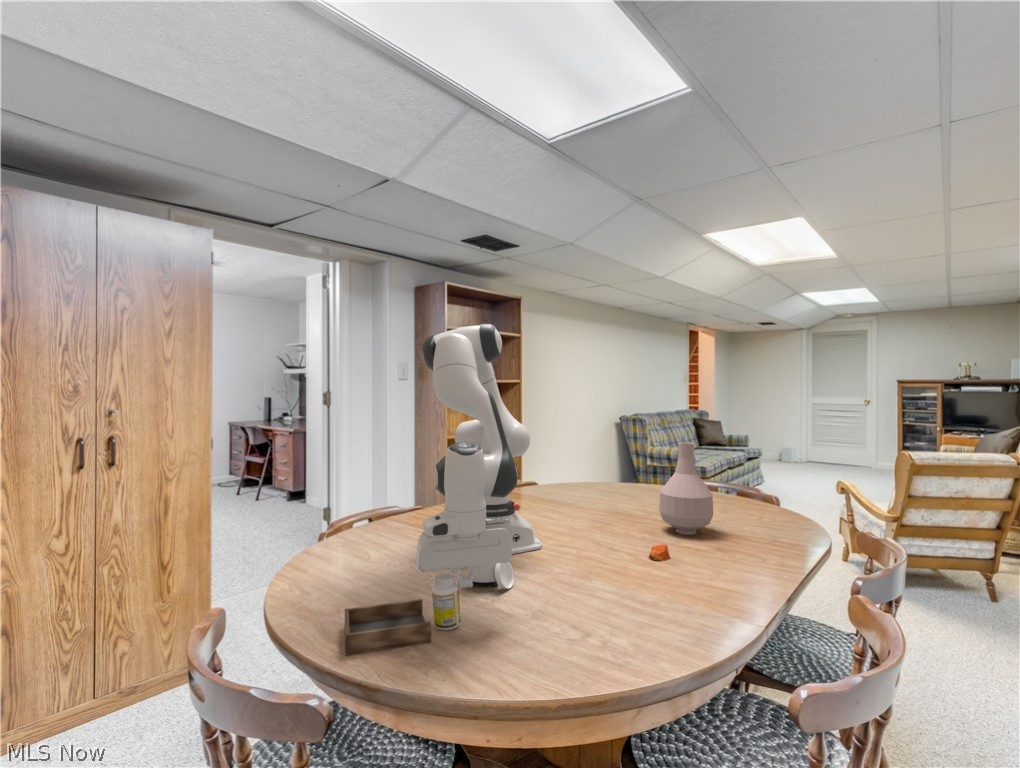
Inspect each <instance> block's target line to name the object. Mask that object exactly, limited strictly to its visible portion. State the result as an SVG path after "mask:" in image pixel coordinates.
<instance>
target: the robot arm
mask: <svg viewBox="0 0 1020 768" xmlns="http://www.w3.org/2000/svg"><path fill="white" fill-rule="evenodd" d="M502 349H503V341H502V337H501V334H500V333H499V331H498V329H497V327H496V326H494V324H491V323H481V324H480V325H479V324H478V325H470V326H468V325H467V326H461V327H457V328H455V329H450V330H447V331H444V332H441V333H434V334H431V335H429V336H427V337H426V338H425V339H424V341H423V343H422V349H421V350H422V358H423V360H424V363H425V365H426V366H427V367H428V368H429V370H431V371H432V377H433V378H432V381H433V390H434V394H435V396H436V399H437V400H438V401H439V402H440V403H441V404H442V405H444V406H445V407H447V408H448V409H450V410H453V411H455V412H458V413H462V414H464V415H467V416H470V417H472V418H473V419H471V420H467V421H462V422H461V423H460V424H458V426H457V428H456V430H455V433H454V442H455V443H453V444H450V445H449V446H448V447H447V449H446V455H445V456H443V457H442V458H441V459H440V460H439V461H438V462H437V463H436V464H435V469H436V486H435V490H437V491H438V492H439V493H440V494H441V495H442V496H444V497H445V502H444V506H443V511H442V512H438V513H437V514H434V515H431V516H429V517H427V518H425V519H423V520H422V521H421V522H422V523H421V525H422V527H421V528H422V530H423V532H421V533H420V535H419V537H418V541H417V545H416V558H415V559H416V560H415V561H416V562H415V563H416V566H417V569H419V571H421V573H425V572H426V573H427V572H434V571H435V572H436V571H443V570H444V571H445V570H451V569H452V572H453V573H454V575H455V576H456V578H457V585H458V587H459V589H466V588H467V589H468V588H473V586H474V585H473V578H474V577H475V575H476V573H477V571H478V566H479V565H488V564H497V563H506V562H511V560H512V558H513V555H514V554H519V553H521V554H522V553H527V552H531V551H535V550H540V549H542V546H543V545H542V542H541V540H540V539H539V538H537V536H535V534H534V529H533V526H532V525H531V523H530V522H529V521H528V520H527V519H525V518H524V517H522V516H521V515H520V514H518V513H517V512H518V511H520V509H521V505H520V504H519V503H518V502H514V501H513V500H511V499H510V494H511V493H512V492H513V491H514V489H516V487H517V485H518V478H519V477H518V470H517V466H516V463H515V460H514V458H515V457H516V458H517V457H522V456H523V455H525V453H526V452H527V450H528V449H529V447H530V443H531V437H530V433H529V430H528V428H527V426H525V425H524V424H522V423H521V422H519V421H518V419H516V418H515V417H514V416H513V415H512V413H511V412H510V411H509V410H508V408H507V407H506V405H505V404H504V402H503V400H502V397H501V394H500V389H499V387H498V383H497V380H496V375H495V371H494V368H493V365H492V363H493V362H494V361H497V359H498V358H499V357H500V356H501V354H502ZM516 511H517V512H516ZM463 568H469V572H468V574H467V576H461V575H460V573H462V569H463ZM470 569H471V570H470Z"/></svg>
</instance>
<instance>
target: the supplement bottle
mask: <svg viewBox="0 0 1020 768" xmlns="http://www.w3.org/2000/svg"><path fill="white" fill-rule="evenodd" d="M454 575H455V574H453V573H449V572H444V573H440V574H438V575H436V576H435V577H434V585H433V586H432V588H431V597H432V608H433V611H432V612H433V623H434V626H435V628H436V629H438V630H440V631H450V630H454V629H456V628H457V627H459V626H460V625H461V623H462V615H461V603H460V591H459V590H460V588H459V587H458V582H455V576H454Z"/></svg>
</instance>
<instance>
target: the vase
mask: <svg viewBox="0 0 1020 768" xmlns="http://www.w3.org/2000/svg"><path fill="white" fill-rule="evenodd" d="M677 443H678V445H677V450H678V451H677V452H678V453H677V455H678V456H677V462H676V466H675V472H673V474H672V476H671V477H670V478H669V479H668V480H667V481H666V483H665V484H664V486H663V487H662V488H661V489H660V491H659V506H658V512H659V513H660V517H661V519H662V521H664V523H666V524H668V525H670V527H673V528H675V532H676V533H677V534H681V535H687V536H689V535H696V534H697V530H699V529H701V528H704V527H707V526H708V525H710V524H711V521H712V519H713V516H714V501H713V500H714V498H713V492H712V491H711V490H710V488H709V487H708V485H706V483H705V482H704V480H703V479H702V478H701V477H700V475H699V474H698V473H697V468H696V467H697V466H696V463H695V458H694V455H695V454H694V453H695V452H694V444H695V443H694V442H685V441H684V442H677Z"/></svg>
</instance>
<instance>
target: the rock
mask: <svg viewBox="0 0 1020 768" xmlns="http://www.w3.org/2000/svg"><path fill="white" fill-rule="evenodd" d="M670 555H671V554H670V553H669V548H668V544H667V543H661V544H659V545H658V544H655V545H652V547H651V550H650V552H649V555H648V558H651V560H654V561H659V562H664V561H667V560H669V559H670V558H671V556H670Z"/></svg>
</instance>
